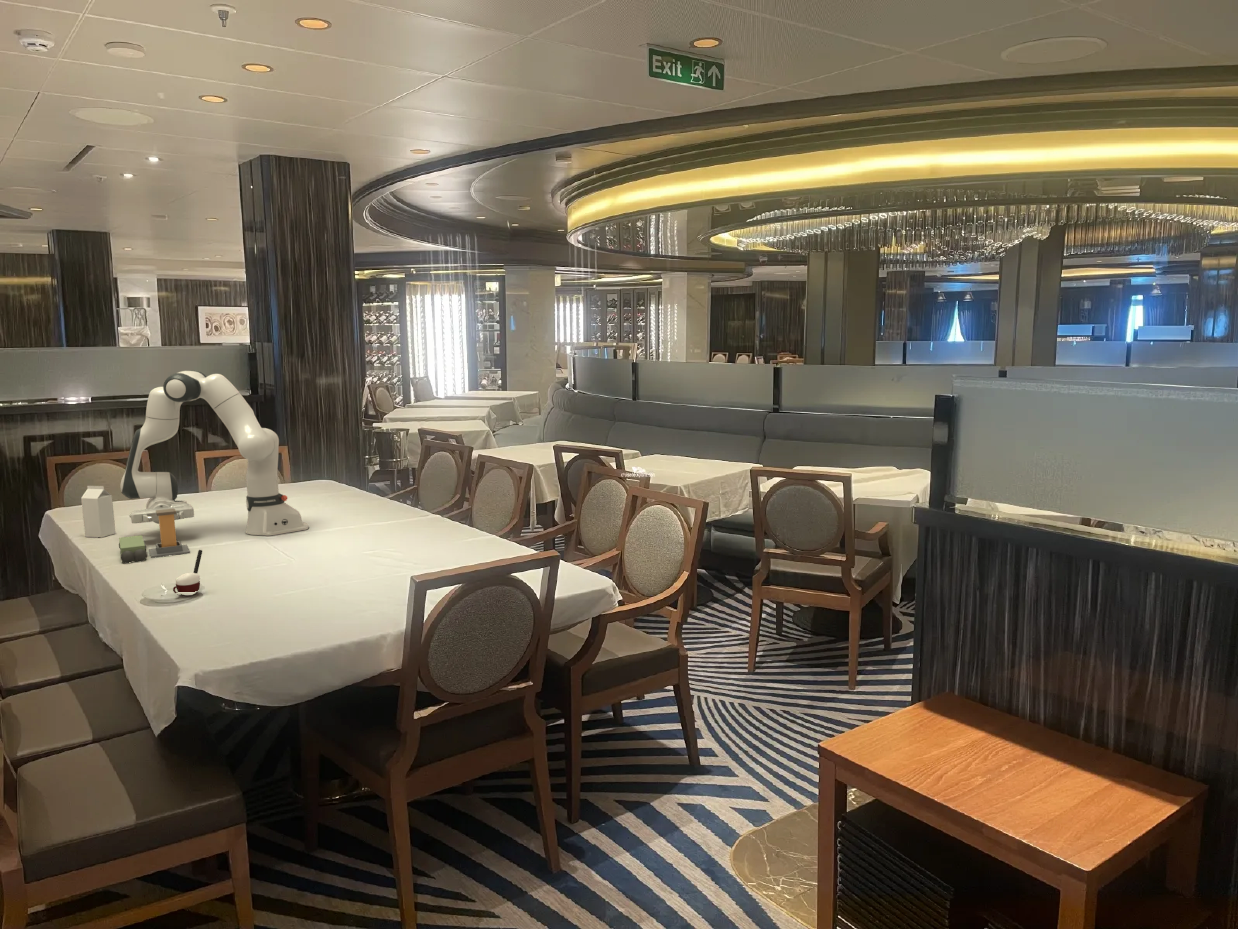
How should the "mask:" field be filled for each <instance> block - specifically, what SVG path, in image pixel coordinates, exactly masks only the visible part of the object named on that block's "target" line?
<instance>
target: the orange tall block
mask: <svg viewBox="0 0 1238 929" xmlns="http://www.w3.org/2000/svg"><path fill="white" fill-rule="evenodd" d="M174 514H176V510H175V509H174V508H173V509H163V510H156V515H157V516H158V517H159V524H158V525H159V526H158V527H159V537H160V543H161V548H162V547H170V546H177V543H176V541H177V533H176V523H175V522H176V520H174Z"/></svg>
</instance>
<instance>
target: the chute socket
mask: <svg viewBox="0 0 1238 929" xmlns="http://www.w3.org/2000/svg"><path fill="white" fill-rule="evenodd" d="M176 543H177V546H170V547H162V548H161V542H160V543H155V547H154V548H149V549H148V553H149V556H151V557H150V559H156V558H163V556H164V557H169V555H172V556H178V555H187V554H191V550H190V548H189V546H188V544H182V542H181V540H178V541H177V540H176ZM155 557H156V558H155Z"/></svg>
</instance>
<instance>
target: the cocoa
mask: <svg viewBox="0 0 1238 929" xmlns="http://www.w3.org/2000/svg"><path fill="white" fill-rule="evenodd" d="M202 555H203V549H198V550H197V555H196V558H195V559H196V560H195V564H194V568H193V572H186V573H183V574H181V575H179V576H178V577H177V578H175V586H174V587H173V588H172V592H173V593H174V594H176V593H178V592H195V591H198V590H199V591H200V587H201V581H200V580H201V578H200V574H198V572H199V569H200V565H201V560H202ZM176 590H177V591H176ZM199 591H198V592H199Z"/></svg>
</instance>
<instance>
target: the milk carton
mask: <svg viewBox="0 0 1238 929" xmlns="http://www.w3.org/2000/svg"><path fill="white" fill-rule="evenodd" d="M86 488H87V489H86V491H84V493H83V495H82V496H81V498H80V499H81V500H80V501H81V509H82V520H83V527H84V528H83V530H84V536H85V538H98V537H102V538H104V537H107V536H112V535H114V534H117V532H116V522H115V514H114V503H113V495H112V494H111V493H110V492H109V491H108V490H106V489H105V486H104V485H87V486H86Z"/></svg>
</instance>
